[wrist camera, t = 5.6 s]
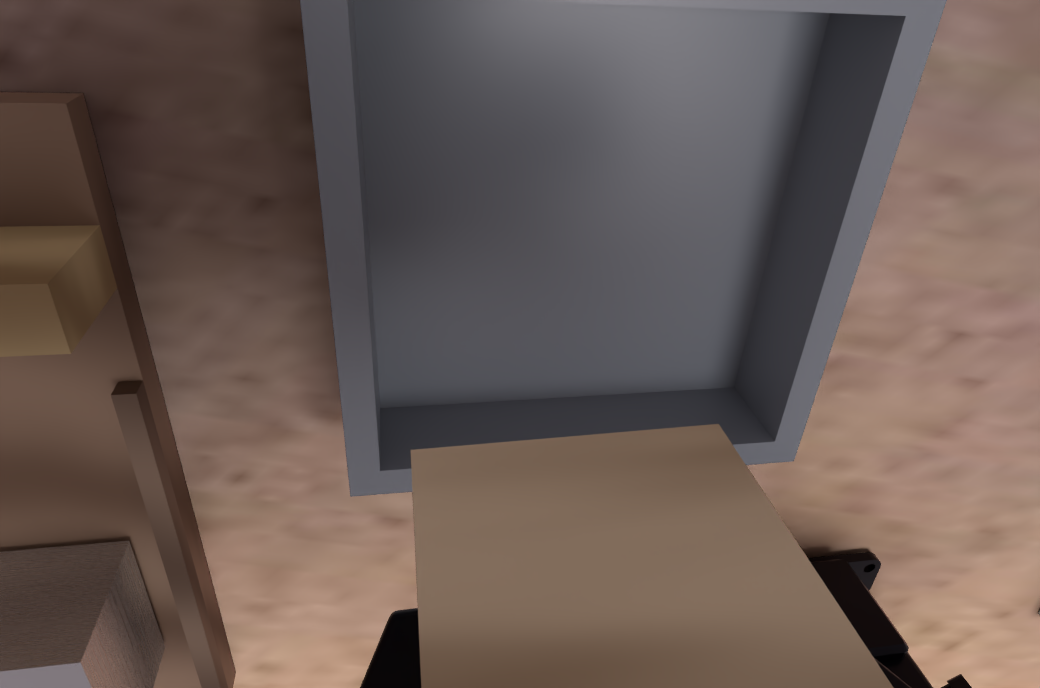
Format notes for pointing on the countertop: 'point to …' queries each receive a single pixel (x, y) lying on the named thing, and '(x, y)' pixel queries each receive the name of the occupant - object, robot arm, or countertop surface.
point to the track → (89, 386)
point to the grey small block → (76, 619)
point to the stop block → (618, 570)
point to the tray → (596, 211)
